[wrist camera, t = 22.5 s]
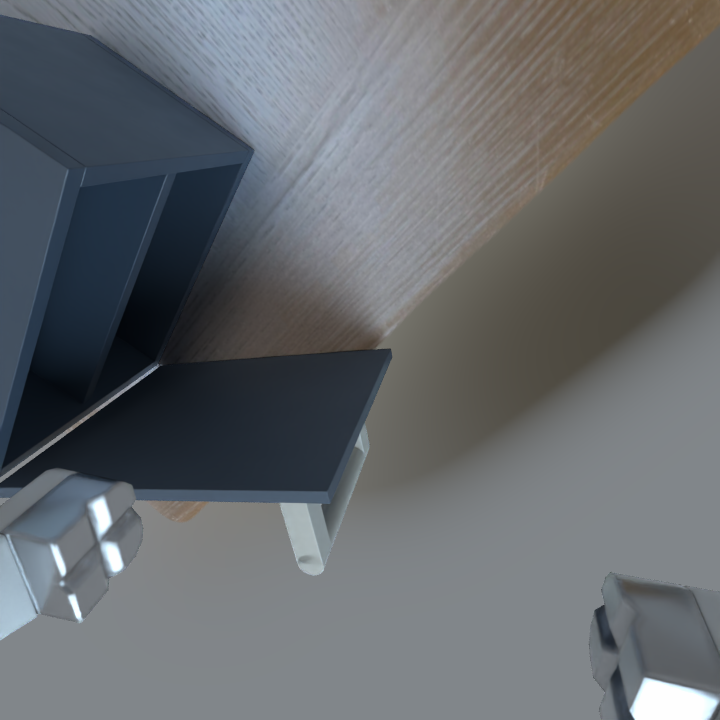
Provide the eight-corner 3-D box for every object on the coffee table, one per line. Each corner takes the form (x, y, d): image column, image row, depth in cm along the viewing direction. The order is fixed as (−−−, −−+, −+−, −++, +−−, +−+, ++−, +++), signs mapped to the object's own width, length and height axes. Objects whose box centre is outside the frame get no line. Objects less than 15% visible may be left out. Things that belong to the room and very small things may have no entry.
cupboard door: (402, 418, 42) (351, 589, 27) (183, 425, 48) (39, 567, 33) (390, 348, 40) (327, 491, 24) (161, 365, 46) (-7, 487, 30)
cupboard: (255, 149, 36) (68, 169, 20) (157, 364, 46) (-15, 488, 30) (90, 34, 35) (-238, -41, 19) (29, 279, 45) (-215, 360, 30)
